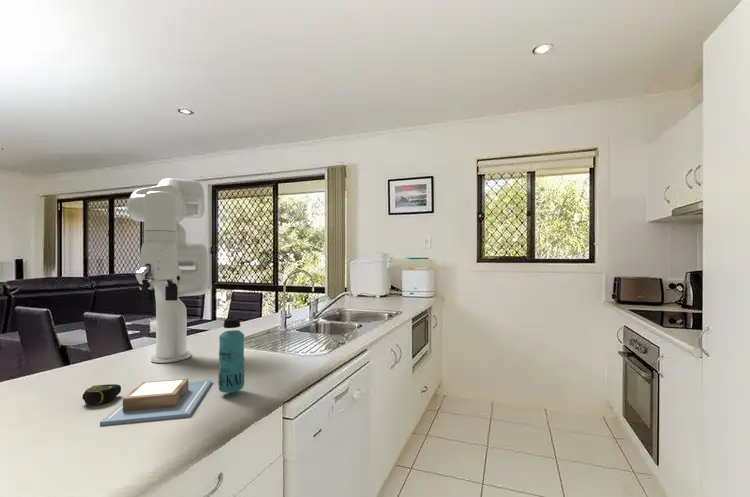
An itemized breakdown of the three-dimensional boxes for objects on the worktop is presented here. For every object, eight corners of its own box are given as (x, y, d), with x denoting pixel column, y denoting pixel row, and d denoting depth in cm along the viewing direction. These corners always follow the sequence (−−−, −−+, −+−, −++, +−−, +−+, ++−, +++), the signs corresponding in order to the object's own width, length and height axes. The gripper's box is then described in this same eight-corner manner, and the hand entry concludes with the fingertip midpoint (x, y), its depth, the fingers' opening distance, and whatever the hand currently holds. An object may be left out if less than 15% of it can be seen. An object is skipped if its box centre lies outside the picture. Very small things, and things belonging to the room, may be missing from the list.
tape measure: (122, 395, 94) (122, 381, 94) (108, 406, 88) (108, 391, 88) (93, 397, 93) (93, 383, 93) (76, 408, 86) (76, 393, 86)
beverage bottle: (222, 389, 97) (223, 316, 98) (247, 388, 98) (247, 316, 98) (214, 399, 91) (214, 321, 91) (240, 398, 92) (240, 320, 92)
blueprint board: (142, 388, 99) (142, 374, 99) (212, 382, 103) (212, 369, 103) (99, 425, 77) (100, 407, 77) (189, 416, 81) (189, 399, 81)
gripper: (166, 240, 104) (166, 298, 103) (122, 237, 86) (122, 307, 86) (192, 239, 103) (191, 298, 103) (153, 236, 86) (152, 307, 86)
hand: (160, 302), depth 95 cm, fingers open, 9 cm apart
